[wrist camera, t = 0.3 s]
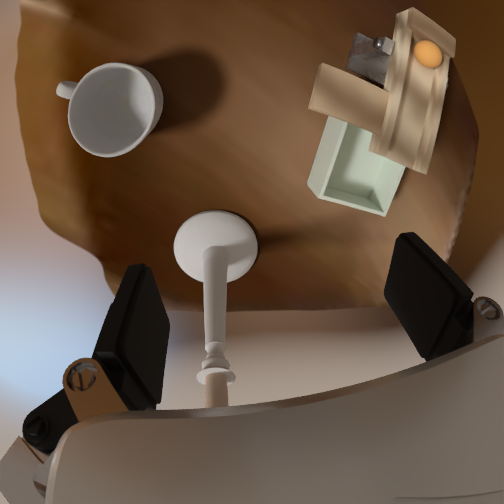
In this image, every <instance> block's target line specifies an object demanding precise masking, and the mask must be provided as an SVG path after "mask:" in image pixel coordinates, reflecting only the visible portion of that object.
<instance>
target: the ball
mask: <svg viewBox="0 0 504 504" xmlns="http://www.w3.org/2000/svg"><path fill="white" fill-rule="evenodd" d="M414 55H415V58H416V59H417V61H418V62H419V63H420V64H421V65H423V66H425V67H428V68H435V67H437V66H439V65H440V64H441V62H442V53H441V50H440V49H439V47H438V46H437V45H436V44H434V43H433V42H431V41H427V40H422V41H419V42H418V43H416V45H415V47H414Z"/></svg>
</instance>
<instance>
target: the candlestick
mask: <svg viewBox="0 0 504 504" xmlns="http://www.w3.org/2000/svg"><path fill="white" fill-rule="evenodd" d="M257 250H258V246H257V240H256V236H255V233H254V231H253V230H252V228H251V227H250V225H249V224H248V223H247V222H246V221H245V220H243V219H242V218H241V217H239V216H237V215H235V214H233V213H230V212H226V211H220V210H211V211H205V212H201V213H198V214H196V215H194V216H192V217H191V218H189V219H188V220H187V221H186V222H184V223H183V225H182V226H181V227H180V229H179V230H178V232H177V235H176V238H175V242H174V253H175V257H176V260H177V262H178V264H179V265H180V267H181V268H182V269H183V271H184V272H186V273H187V274H188V275H189V276H191V277H192V278H194V279H196V280H199V281H201V282H204V316H205V317H204V318H205V342H206V345H205V350H206V351H207V352H208V355H207V357H206V359H205V360H204V361H203V363H202V368H203V370H202V371H200V372H199V373H198V374H197V380H198V382H200V383H201V384H203V385H205V399H206V400H205V401H206V402H205V408H216V407H228V391H227V386H228V385H230V384H232V383H233V382H234V380H235V378H236V377H235V374H234V373H233V372H231V371H230V370H229V367H230V365H229V362H228V361H227V360H226V359H225V357H224V355H223V352H224V351H225V350H226V346H225V328H226V294H227V282H230V281H233V280H236V279H238V278H239V277H241V276H243V275H244V274H245V273H246V272H247V271H248V270H249V269H250V268H251V267H252V265H253V263H254V261H255V259H256V256H257Z"/></svg>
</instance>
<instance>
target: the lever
mask: <svg viewBox="0 0 504 504" xmlns="http://www.w3.org/2000/svg"><path fill="white" fill-rule="evenodd" d="M422 40H427V41H431V42H433V43H434V44H436V45H437V46H438V47H439V49H440V50H441V53H442V62H441V64H440V65H439V66H437V67H435V68H428V67H425V66H423V65H421V64H420V63H419V62H418V61H417V59H416V58H415V55H414V47H415V45H416V43H418V42H419V41H422ZM393 41H394V45H393V49H392V53H391V56H390V58H389V63H388V69H387V74H386V79H385V83H384V88H383V89H381V88H379V87H377V86H375V85H373V84H371V83H369V82H367V81H365V80H363V79H360V78H358V77H356V76H354V75H351V74H349V73H347V72H344V71H342V70H340V69H337V68H335V67H332V66H330V65H327V64H324V63H322V64H320V65H319V68H318V72H317V76H316V80H315V83H314V87H313V91H312V95H311V99H310V103H309V107H308V109H310V110H313V111H316V112H319V113H322V114H325V115H328V116H331V117H333V118H336V119H339V120H341V121H344V122H347V123H349V124H352V125H354V126H357V127H359V128H362V129H364V130H367V131H369V132H371V133H373V134H372V137H371V141H370V145H369V148H368V151H370V152H373V153H375V154H378V155H380V156H383V157H385V158H387V159H390V160H392V161H394V162H397V163H399V164H401V165H403V166H406V167H408V168H410V169H412V170H415V171H418V172H420V173H423V174H427V170H428V167H429V163H430V159H431V156H432V152H433V148H434V144H435V140H436V136H437V131H438V127H439V122H440V118H441V113H442V107H443V102H444V96H445V90H446V83H447V76H448V68H449V59H450V58H454V57H455V45H456V39H455V38H454V37H452V36H451V35H450V34H449V33H448V32H446V31H445V30H444V29H443V28H441V27H440V26H439V25H437V24H436V23H435V22H433V21H432V20H431V19H429V18H428V17H427V16H425V15H424V14H422V13H421V12H419V11H418V10H417V9H415V8H414V7H413V8H410V9H408V10H405V11H403V12H400V13H398V14H396V22H395V28H394V35H393Z"/></svg>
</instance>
